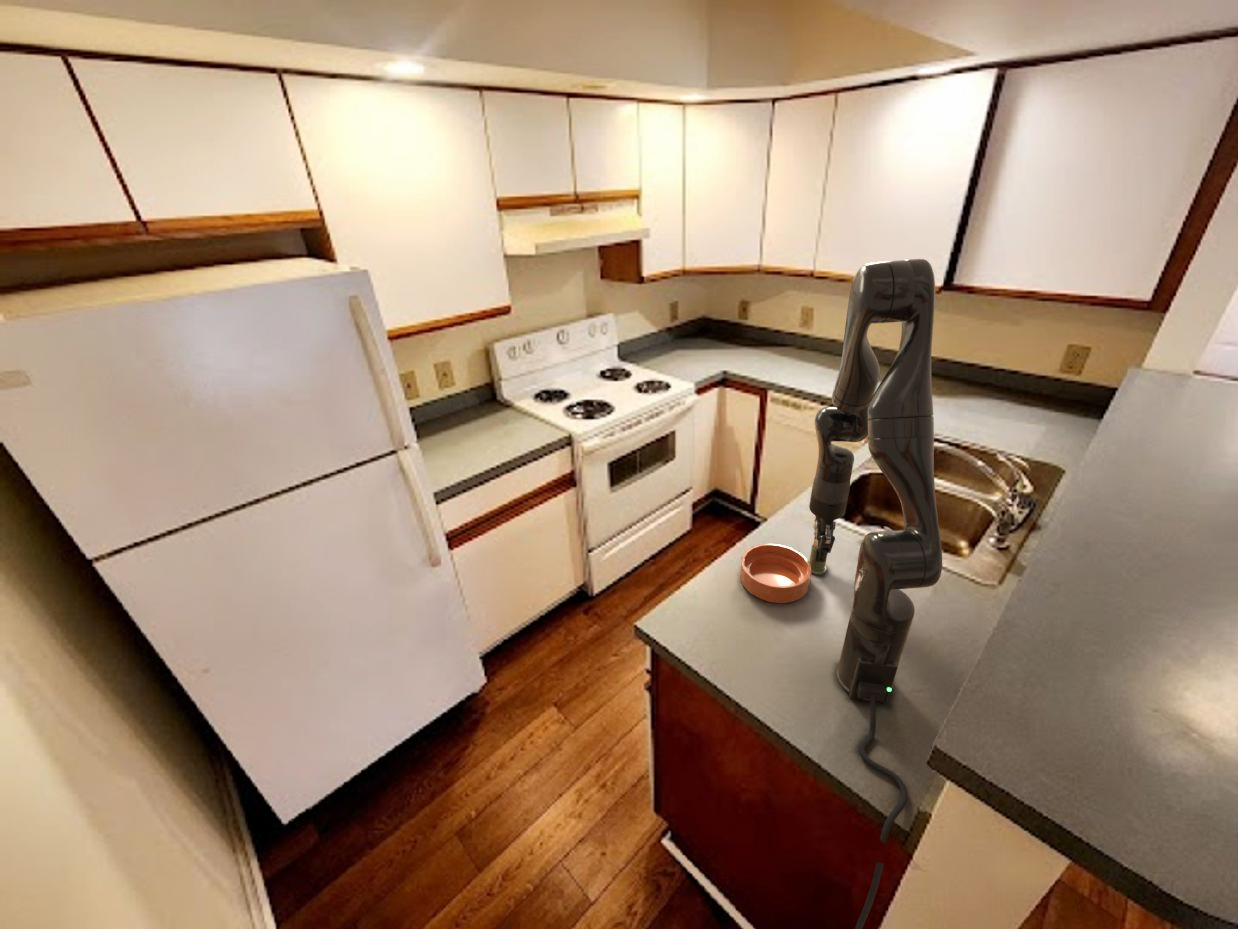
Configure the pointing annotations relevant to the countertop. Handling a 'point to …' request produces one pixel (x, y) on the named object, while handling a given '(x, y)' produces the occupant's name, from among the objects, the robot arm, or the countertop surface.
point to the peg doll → (816, 567)
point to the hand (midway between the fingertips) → (818, 555)
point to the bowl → (775, 573)
